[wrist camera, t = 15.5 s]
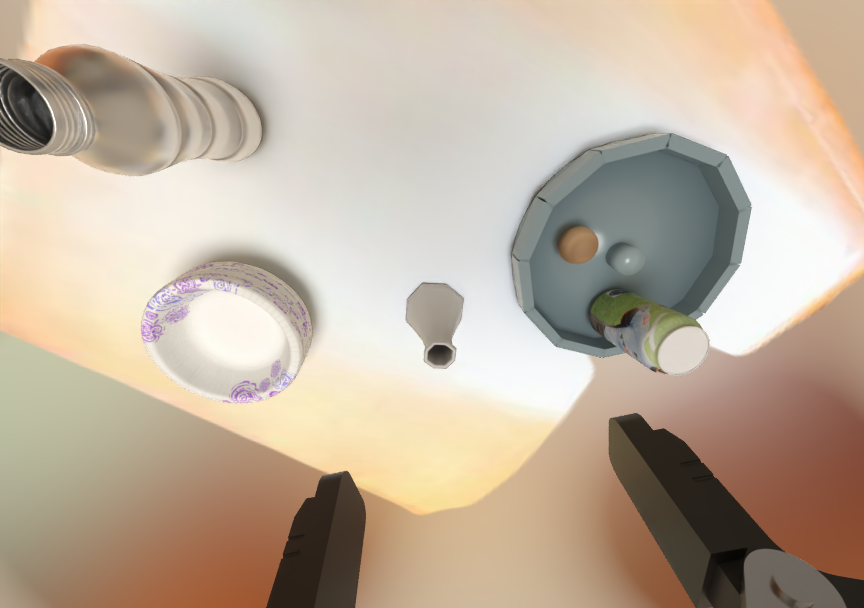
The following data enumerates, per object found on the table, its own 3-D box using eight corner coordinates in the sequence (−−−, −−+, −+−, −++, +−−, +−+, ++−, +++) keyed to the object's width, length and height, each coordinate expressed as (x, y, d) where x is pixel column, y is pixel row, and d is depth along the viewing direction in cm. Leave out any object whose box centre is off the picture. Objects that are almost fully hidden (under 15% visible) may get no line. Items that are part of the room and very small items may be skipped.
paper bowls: (275, 382, 46) (250, 428, 39) (163, 316, 41) (110, 354, 34) (345, 307, 41) (331, 343, 34) (229, 222, 36) (184, 243, 29)
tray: (498, 170, 35) (506, 174, 32) (737, 110, 34) (770, 108, 31) (523, 356, 46) (531, 372, 43) (705, 317, 44) (727, 331, 41)
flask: (473, 294, 41) (490, 337, 32) (448, 341, 44) (457, 393, 35) (418, 272, 40) (419, 312, 31) (396, 323, 43) (391, 373, 34)
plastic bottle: (210, 63, 30) (-90, -42, 12) (282, 116, 32) (115, 91, 14) (184, 129, 32) (-104, 122, 14) (253, 174, 34) (76, 218, 16)
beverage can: (578, 327, 43) (633, 391, 32) (597, 273, 40) (665, 324, 29) (625, 331, 44) (694, 395, 33) (647, 278, 40) (732, 330, 30)
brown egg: (550, 226, 37) (565, 236, 33) (587, 218, 37) (606, 226, 33) (553, 260, 39) (567, 273, 35) (588, 252, 39) (606, 264, 35)
